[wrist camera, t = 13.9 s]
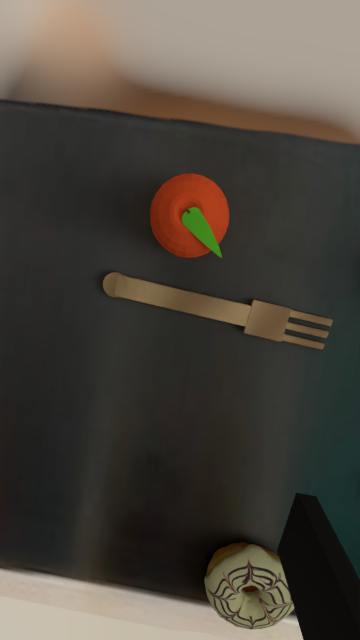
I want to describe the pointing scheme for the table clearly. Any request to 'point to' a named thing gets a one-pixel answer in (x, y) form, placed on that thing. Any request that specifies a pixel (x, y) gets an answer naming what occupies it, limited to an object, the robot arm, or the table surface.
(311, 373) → the table surface
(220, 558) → the decorated donut
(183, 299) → the fork
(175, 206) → the clementine
